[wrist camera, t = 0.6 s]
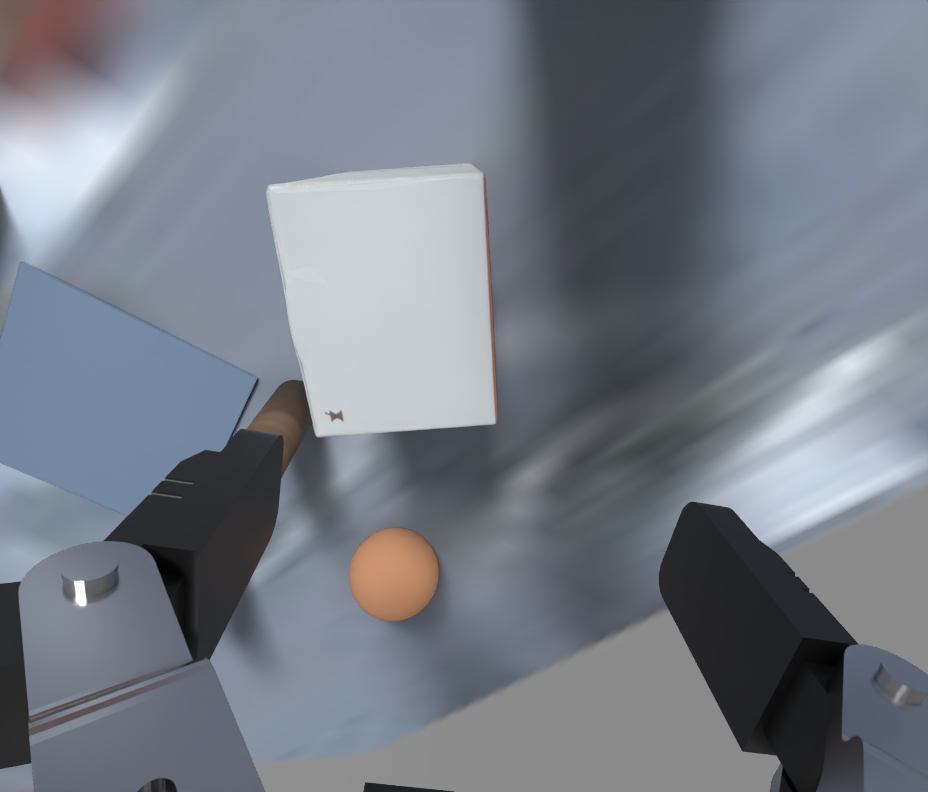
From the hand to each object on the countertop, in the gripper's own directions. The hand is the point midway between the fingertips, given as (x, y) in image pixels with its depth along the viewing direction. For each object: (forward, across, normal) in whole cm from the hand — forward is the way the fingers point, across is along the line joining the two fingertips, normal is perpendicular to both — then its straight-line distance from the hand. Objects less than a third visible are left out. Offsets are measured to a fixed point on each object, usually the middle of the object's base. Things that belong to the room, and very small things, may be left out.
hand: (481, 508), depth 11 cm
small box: (+20, +3, -2) cm, 21 cm away
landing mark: (+21, +19, +10) cm, 30 cm away
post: (+21, +8, +8) cm, 24 cm away
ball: (+18, +1, +17) cm, 25 cm away
